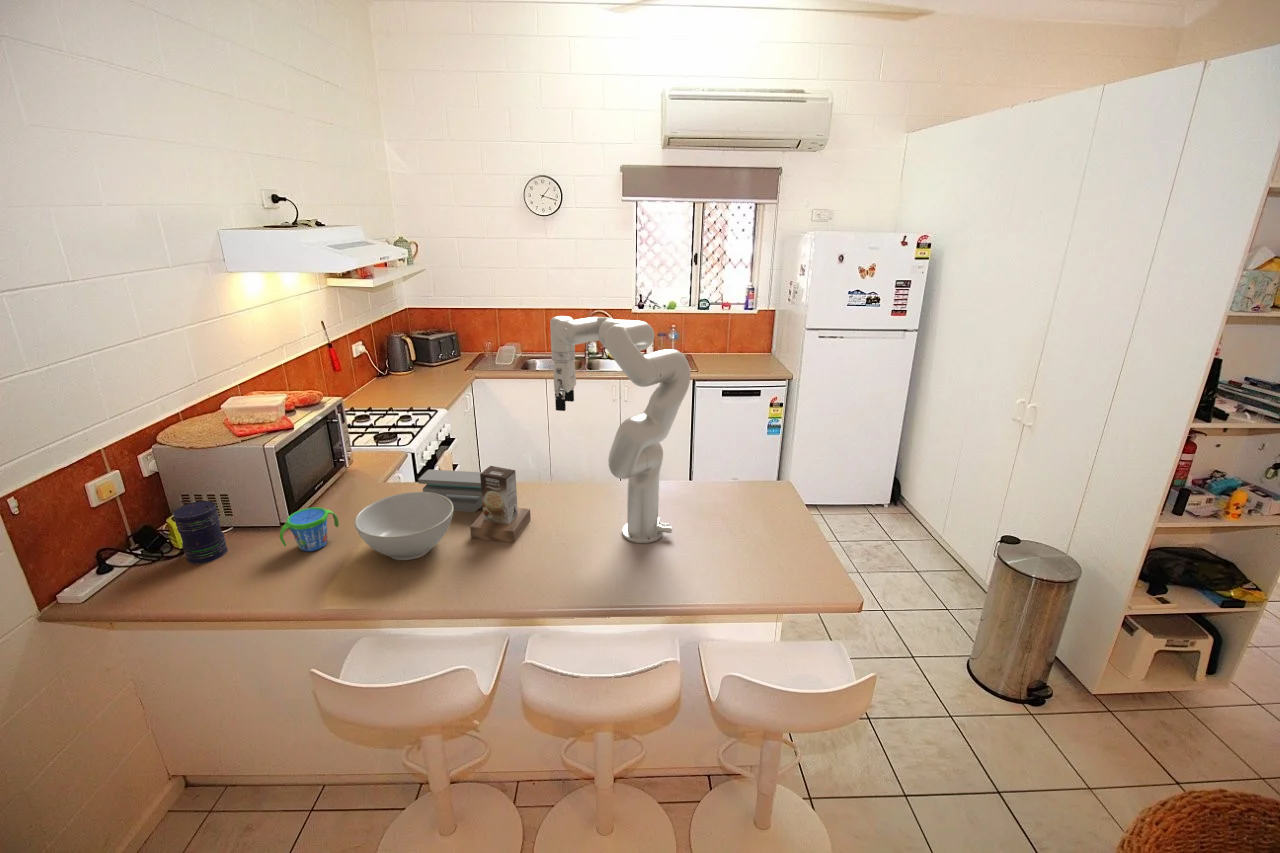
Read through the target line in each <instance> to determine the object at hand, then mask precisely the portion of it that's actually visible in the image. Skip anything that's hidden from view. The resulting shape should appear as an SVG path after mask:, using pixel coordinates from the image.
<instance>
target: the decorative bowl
mask: <svg viewBox="0 0 1280 853" xmlns="http://www.w3.org/2000/svg"><path fill="white" fill-rule="evenodd" d="M453 515H454V506H453V503H452V502H451V501H450V500H449V499H448V498H447V497H445V496H443V495H440V494H436V493H430V492H423V491H413V492H411V491H410V492H404V493H397V494H393V495H390V496H386V497H383V498H380V499H378V500H376V501H374V502H372V503H369V504H368V505H366V506H365V507H364V508H362V509H361V510H360V511H359V512H358V513H357V515H356V517H355V518H354V523H353V524H354V527H355V530H356V531H357V534H358V535H359V537H361V539H362V540H363V542H364V543H365V544H367V545H368V546H369V547H370V548H371V549H373V550H374V551H375V552H378V553H379V554H381V555H385V556H388V557H390V558H391V559H393V560H397V561H409V560H410V561H411V560H414V559H418V558H420V557H423V556H424V555H427V554H428V552H430V551H431V550H432V548H433V547H434V546H436V545H437V544H438V543H439V542H440V541H441V539H442V538H443V537H444V536H445V534H446V533H447V531H448V529H449V528H450V525H451V523H452V519H453Z"/></svg>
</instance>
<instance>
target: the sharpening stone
mask: <svg viewBox="0 0 1280 853" xmlns="http://www.w3.org/2000/svg"><path fill="white" fill-rule="evenodd" d="M482 472H483V471H467V470H465V471H464V470H463V471H462V470H449V469H448V470H447V469H446V470H443V469H428V470H426V471H425V472H424V473H423V474H422V475H421V476H420V477H419V478H417V481H418V484H420V485H425V486H424V487H423V488H422V492H430V493H436V494H440V495H443V496H445V497H447V498H448V499H449V500H450V501H451V502H452V503H453V506H454V511H455V512H470V513H475V512H477V511H478V510H479V509H480V508H481V507H483V503H482V491H481V479H480V474H481V473H482ZM454 511H453V512H454Z"/></svg>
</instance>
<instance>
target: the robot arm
mask: <svg viewBox="0 0 1280 853" xmlns="http://www.w3.org/2000/svg"><path fill="white" fill-rule="evenodd" d="M549 324H550V325H549V326H550V349H551V361H552V362H553V388H554V389H553V390H554V399H555V401H554V404H555V411H559V412H561V411H562V412H565V411H566V410H567V409H566V402H574V401H575V392H574V391H575V390H574V388H575V387H576V385H577V375H576V374H577V373H576V365H575V360H576V346H578V345H581V344H587V343H593V342H598V341H599V342H600V343H601V345H602V346H603V347H605V348H606V349H607V352H608V354H609V355H610V356H611V357H612V359H613V360H614V361H615V363H616V364H617V365H618V367H620V369H621V371H622V372H623V373H624V374H625V375H626V377H627V378H628V379H629V381H630V382H632V383H633V384H634V385H635V386H638V387H642V388H643V387H644V388H645V387H646V388H647V387H650V386H654V385H656V384H657V385H658V384H659V385H658V386H657V387H656V388H655V390H654V391H653V392H652V394H651V396H650V398H649V399H648V400H649V401H648V403H647V406H646V408H645V409H644V411H643V412H641V413H639V414H636V415H632V416H631V417H628V418H626V419H625V420H623V422H621V424H620V425H619V427H618V428H617V431H616V434H615V437H614V439H613V442H612V445H611V447H610V450H609V453H608V458H607V459H608V460H607V461H608V462H607V463H608V464H607V465H608V468H609V470H610V471H609V472H610V473H611V474H612V475H613V476H614V477H615V478H617V479H620V480H626V479H627V512H626V514H627V515H626V516H627V519H626V520H627V521H626V524H625V525H623V527H622V536H623V537H624V539H626V540H627V541H630V542H632V543H637V544H650V543H654V542H656V541H658V540H659V539H661V538H662V536H663V533H667V534H672V533H673V532H672V531H673V527H672V526H670V523H669V522H662V521H661V517H659V502H660V501H659V500H660V499H659V496H660V495H659V492H660V476H661V475H660V474H661V469H662V465H663V459H664V450H663V447H662V444H661V442H663V441H664V440H665V439H667V437H668V436H669V433H670V431H671V428H672V426H673V424H674V421H675V419H676V416H677V414H678V411H679V409H680V407H681V406H682V405H681V404H682V402H683V400H684V398H685V396H686V394H687V392H688V390H689V386H690V385H691V384H690V383H691V369H690V364H689V361H688V360H687V357H686V356H685V355H684V354H683V353H682V352H681V351H679V350H678V349H674V348H673V349H671V348H668V349H666V348H665V349H660V350H656V351H651V352H648V353H644V354H643V353H642V351H644V350H647V349H648V348H649V347H651V345H652V344H653V342H654V339H655V332H654V329H653V327H652V325H650V324H649V323H647V322H646V321H643V320H635V319H634V320H633V319H616V318H615V319H614V318H612V317H607V316H606V317H604V316H590V317H584V318H577V319H574V318H572V316H567V315H557V316H553V317H552V318H551V319H550V322H549Z"/></svg>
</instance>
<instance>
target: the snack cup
mask: <svg viewBox="0 0 1280 853" xmlns="http://www.w3.org/2000/svg"><path fill="white" fill-rule="evenodd" d="M329 514H332V518H333V522H334V527H336V528H338V527H339V524H340V523H339V519H338V515H337V514H336V513H335V512H333V511H332V510H331V509H326V508H323V507H316V506H315V507H307V508H302V509H299V510H297V511H295V512H292V513H291V514H290V515H289V516H288V517H287V519H286V522H285V523H284V525H282V527H281V529H280V532H279V540H280V542H281V544H282V545H283V546H284V547H287V544H286V541H285V538H284V533H285V532H286V530H288V529H289V530H290V532H291V533H292V535H293V537H294V539H295V541H296V544H297V547H298V549H299V550H301V551H304V552H314V551H317V550H319V549H321V548H323V547H326V545H327V543H328V516H329Z"/></svg>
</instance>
